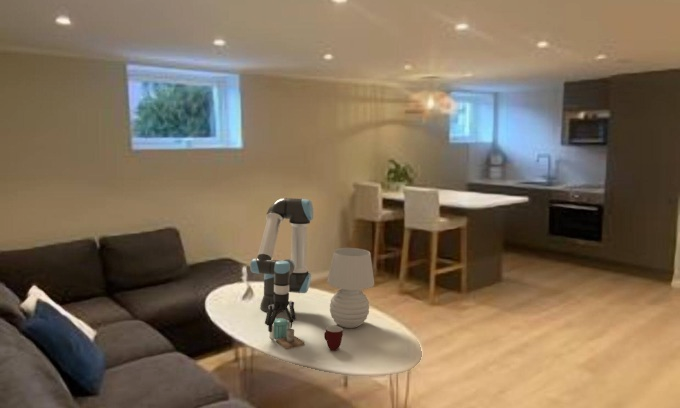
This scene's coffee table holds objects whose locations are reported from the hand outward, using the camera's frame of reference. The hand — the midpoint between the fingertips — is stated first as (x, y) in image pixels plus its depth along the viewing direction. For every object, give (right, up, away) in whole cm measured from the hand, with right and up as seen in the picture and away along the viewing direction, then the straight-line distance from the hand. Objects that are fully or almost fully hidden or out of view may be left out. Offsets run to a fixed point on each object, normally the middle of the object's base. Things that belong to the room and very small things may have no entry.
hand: (280, 335), depth 257 cm
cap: (0, 0, 0) cm, 0 cm away
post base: (+6, -2, -8) cm, 10 cm away
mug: (+26, -3, -12) cm, 29 cm away
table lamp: (+35, +1, +20) cm, 40 cm away
